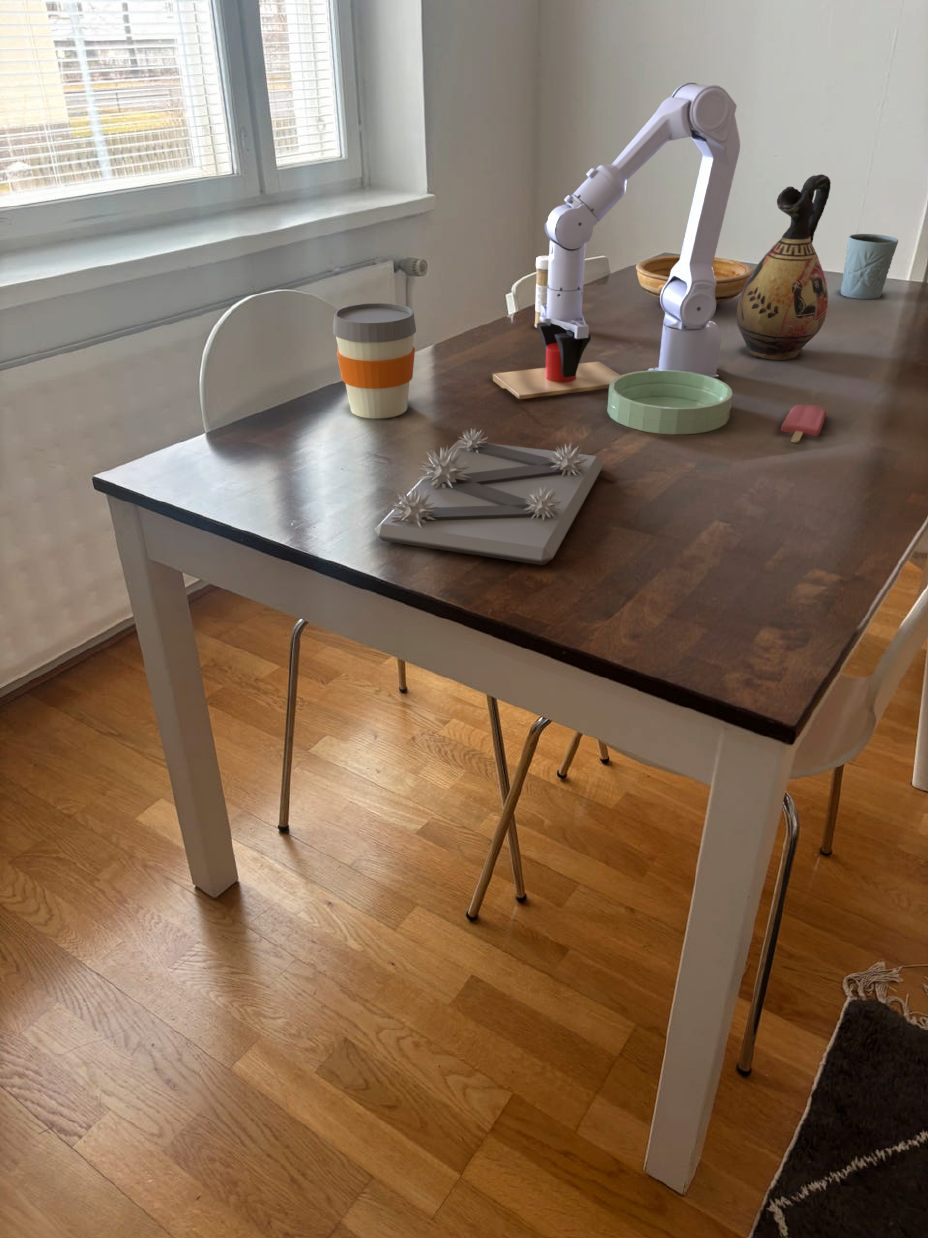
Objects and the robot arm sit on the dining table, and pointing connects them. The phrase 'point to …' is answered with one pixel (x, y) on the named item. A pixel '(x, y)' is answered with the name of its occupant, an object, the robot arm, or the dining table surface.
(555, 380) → the pepper
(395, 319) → the reusable coffee cup
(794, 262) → the ceramic jug
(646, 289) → the ceramic bowl
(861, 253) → the blue embossed cup
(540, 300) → the sprinkles bottle
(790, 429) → the popsicle
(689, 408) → the bowl
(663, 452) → the dining table surface
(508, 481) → the decorative plate
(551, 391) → the cutting board
